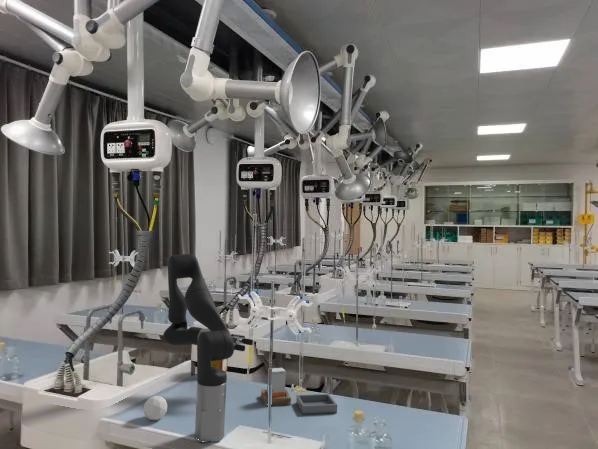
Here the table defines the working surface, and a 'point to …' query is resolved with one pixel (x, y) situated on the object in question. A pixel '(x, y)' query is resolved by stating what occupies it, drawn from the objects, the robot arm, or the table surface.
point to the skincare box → (277, 382)
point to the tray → (316, 404)
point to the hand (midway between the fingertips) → (248, 345)
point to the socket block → (276, 399)
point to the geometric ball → (155, 408)
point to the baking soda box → (220, 364)
